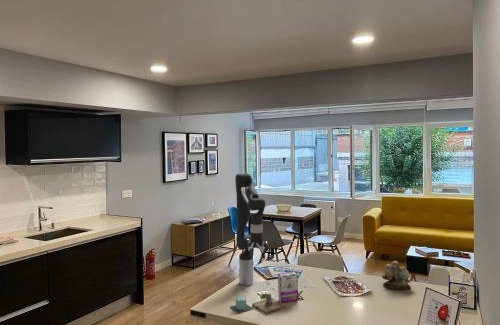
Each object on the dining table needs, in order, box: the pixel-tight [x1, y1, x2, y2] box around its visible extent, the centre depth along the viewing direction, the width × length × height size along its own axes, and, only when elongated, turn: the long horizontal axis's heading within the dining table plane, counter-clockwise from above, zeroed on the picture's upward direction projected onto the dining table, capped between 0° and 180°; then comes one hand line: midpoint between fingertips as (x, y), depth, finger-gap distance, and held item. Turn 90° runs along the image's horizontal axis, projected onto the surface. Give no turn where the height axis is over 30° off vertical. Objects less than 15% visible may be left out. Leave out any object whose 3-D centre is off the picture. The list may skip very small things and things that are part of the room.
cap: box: [235, 296, 247, 310], centre depth 216 cm, size 6×6×6 cm
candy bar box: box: [277, 271, 299, 304], centre depth 226 cm, size 11×5×16 cm, turn 105°
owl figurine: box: [381, 260, 412, 291], centre depth 244 cm, size 18×12×17 cm, turn 79°
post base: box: [251, 293, 287, 315], centre depth 217 cm, size 14×14×8 cm
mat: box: [229, 303, 254, 314], centre depth 216 cm, size 10×10×1 cm
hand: (256, 257), depth 228 cm, fingers open, 8 cm apart
